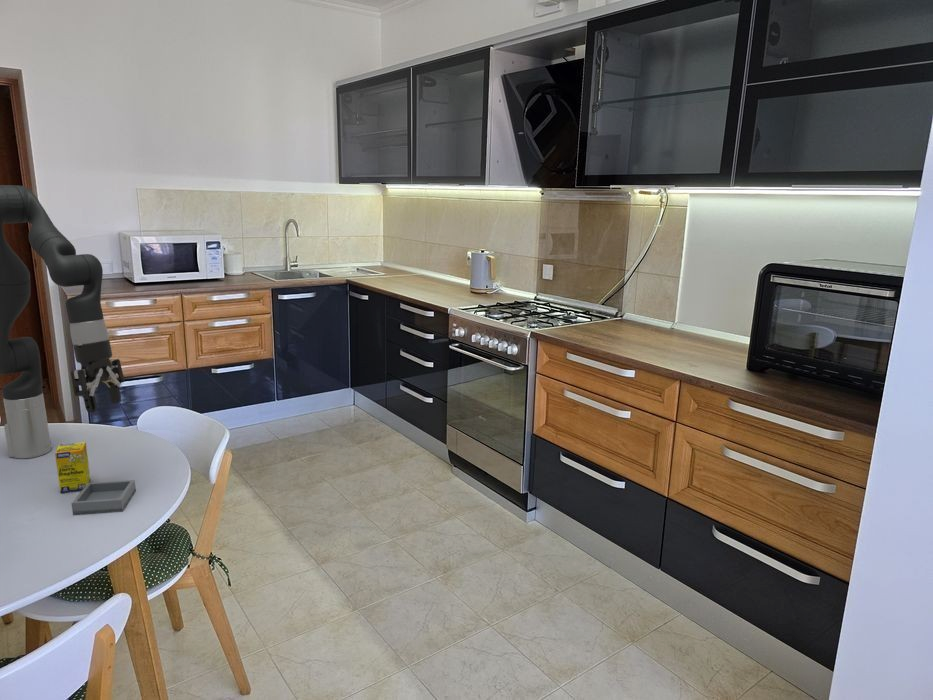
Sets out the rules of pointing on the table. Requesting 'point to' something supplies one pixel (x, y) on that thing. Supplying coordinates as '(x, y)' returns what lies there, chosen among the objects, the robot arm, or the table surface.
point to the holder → (104, 497)
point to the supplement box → (72, 467)
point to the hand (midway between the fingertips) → (104, 407)
